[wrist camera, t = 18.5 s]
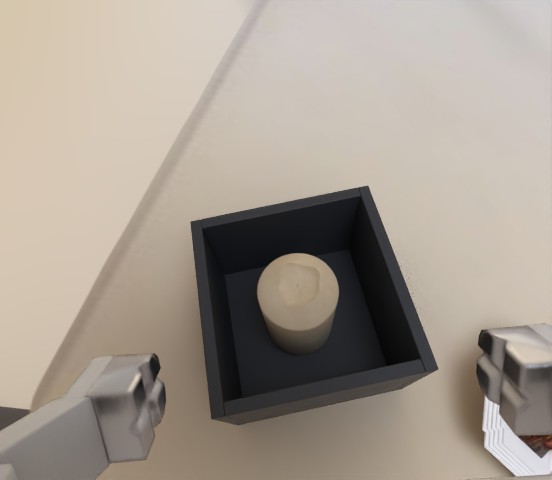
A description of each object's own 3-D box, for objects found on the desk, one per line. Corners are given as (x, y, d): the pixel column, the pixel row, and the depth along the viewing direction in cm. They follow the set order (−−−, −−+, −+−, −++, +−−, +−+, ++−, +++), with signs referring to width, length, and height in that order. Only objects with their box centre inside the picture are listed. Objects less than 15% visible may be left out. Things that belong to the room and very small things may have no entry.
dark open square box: (237, 425, 30) (211, 419, 22) (216, 271, 37) (190, 221, 28) (402, 388, 31) (439, 369, 22) (353, 243, 37) (368, 185, 29)
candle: (256, 312, 34) (240, 268, 25) (309, 283, 35) (311, 230, 26) (287, 368, 32) (281, 341, 23) (343, 335, 33) (358, 296, 24)
